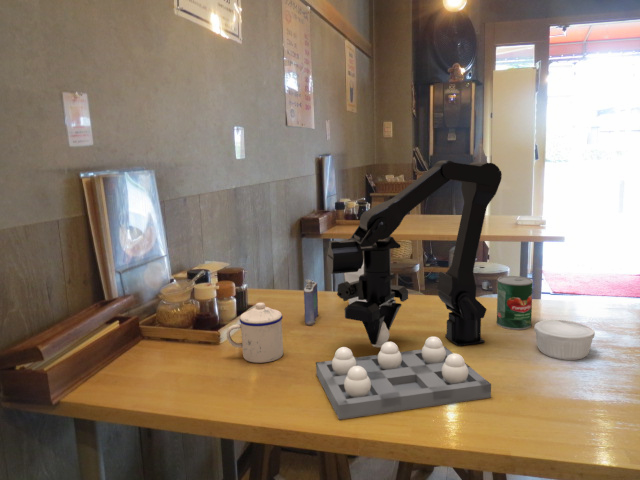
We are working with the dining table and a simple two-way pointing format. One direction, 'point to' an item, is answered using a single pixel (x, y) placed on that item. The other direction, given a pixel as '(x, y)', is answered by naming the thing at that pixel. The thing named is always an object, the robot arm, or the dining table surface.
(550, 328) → the ramekin
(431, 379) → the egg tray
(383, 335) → the cream game piece
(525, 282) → the canned tomato
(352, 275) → the foam cup
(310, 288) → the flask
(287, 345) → the dining table surface
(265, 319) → the teacup with lid
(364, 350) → the dining table surface
